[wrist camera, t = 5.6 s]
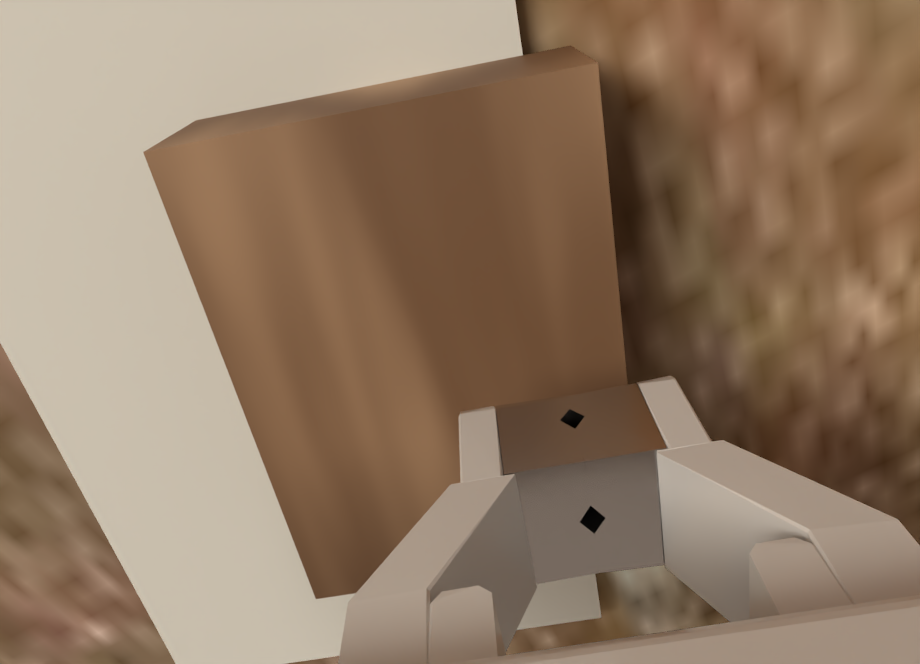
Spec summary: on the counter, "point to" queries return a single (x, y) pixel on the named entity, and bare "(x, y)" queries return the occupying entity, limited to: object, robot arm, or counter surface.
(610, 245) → the block
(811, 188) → the counter surface
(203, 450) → the mat
